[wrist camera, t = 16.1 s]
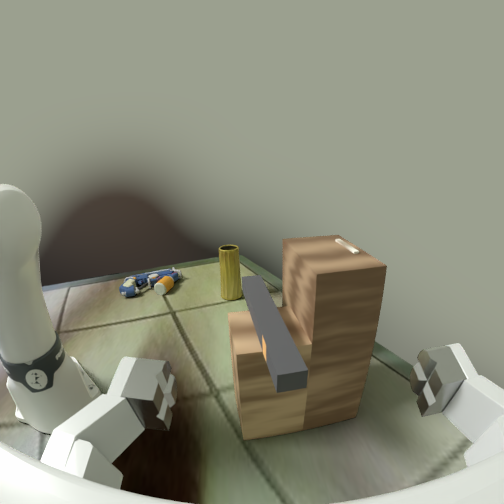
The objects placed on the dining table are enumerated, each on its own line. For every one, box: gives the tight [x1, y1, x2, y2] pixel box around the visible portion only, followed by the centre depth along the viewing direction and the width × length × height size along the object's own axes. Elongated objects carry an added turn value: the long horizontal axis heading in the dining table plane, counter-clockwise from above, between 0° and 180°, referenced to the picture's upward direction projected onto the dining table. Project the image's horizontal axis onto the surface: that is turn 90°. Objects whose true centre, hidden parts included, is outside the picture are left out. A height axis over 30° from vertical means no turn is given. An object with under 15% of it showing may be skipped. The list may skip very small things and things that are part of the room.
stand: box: [228, 235, 387, 440], centre depth 42 cm, size 14×18×26 cm
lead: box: [242, 275, 308, 393], centre depth 38 cm, size 24×3×2 cm, turn 9°
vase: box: [219, 245, 243, 300], centre depth 84 cm, size 6×6×14 cm
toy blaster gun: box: [119, 267, 182, 297], centre depth 92 cm, size 21×4×15 cm
